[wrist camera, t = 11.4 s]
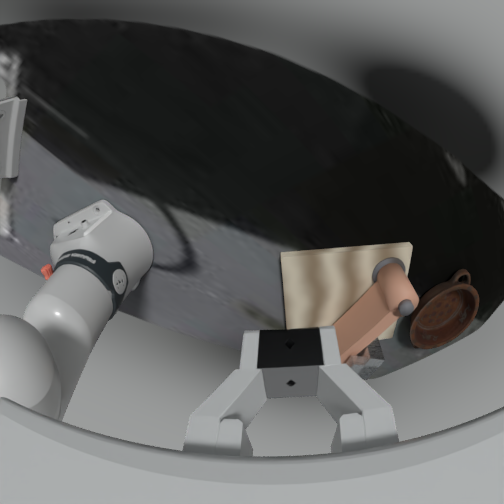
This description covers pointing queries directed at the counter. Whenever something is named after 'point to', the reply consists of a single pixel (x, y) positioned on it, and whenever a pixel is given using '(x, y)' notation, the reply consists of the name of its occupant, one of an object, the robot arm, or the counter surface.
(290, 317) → the base board
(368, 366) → the block
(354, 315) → the link
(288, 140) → the counter surface
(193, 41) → the counter surface
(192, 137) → the counter surface
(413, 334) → the dish
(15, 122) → the hinge
